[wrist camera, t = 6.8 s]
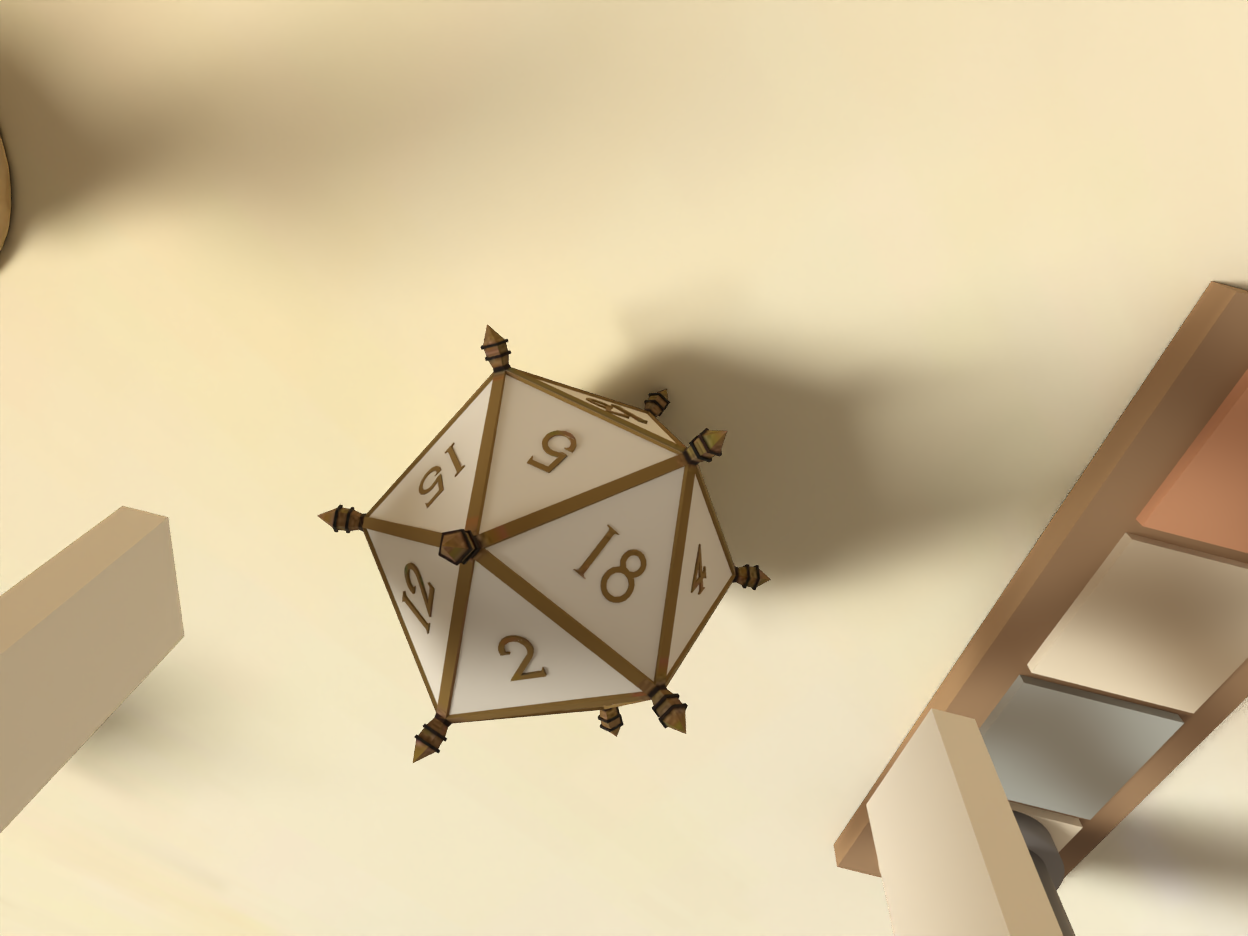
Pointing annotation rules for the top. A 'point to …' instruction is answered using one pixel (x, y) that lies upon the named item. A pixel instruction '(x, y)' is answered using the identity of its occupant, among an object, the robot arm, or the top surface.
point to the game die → (550, 554)
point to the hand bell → (4, 195)
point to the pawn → (1045, 864)
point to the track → (1120, 606)
